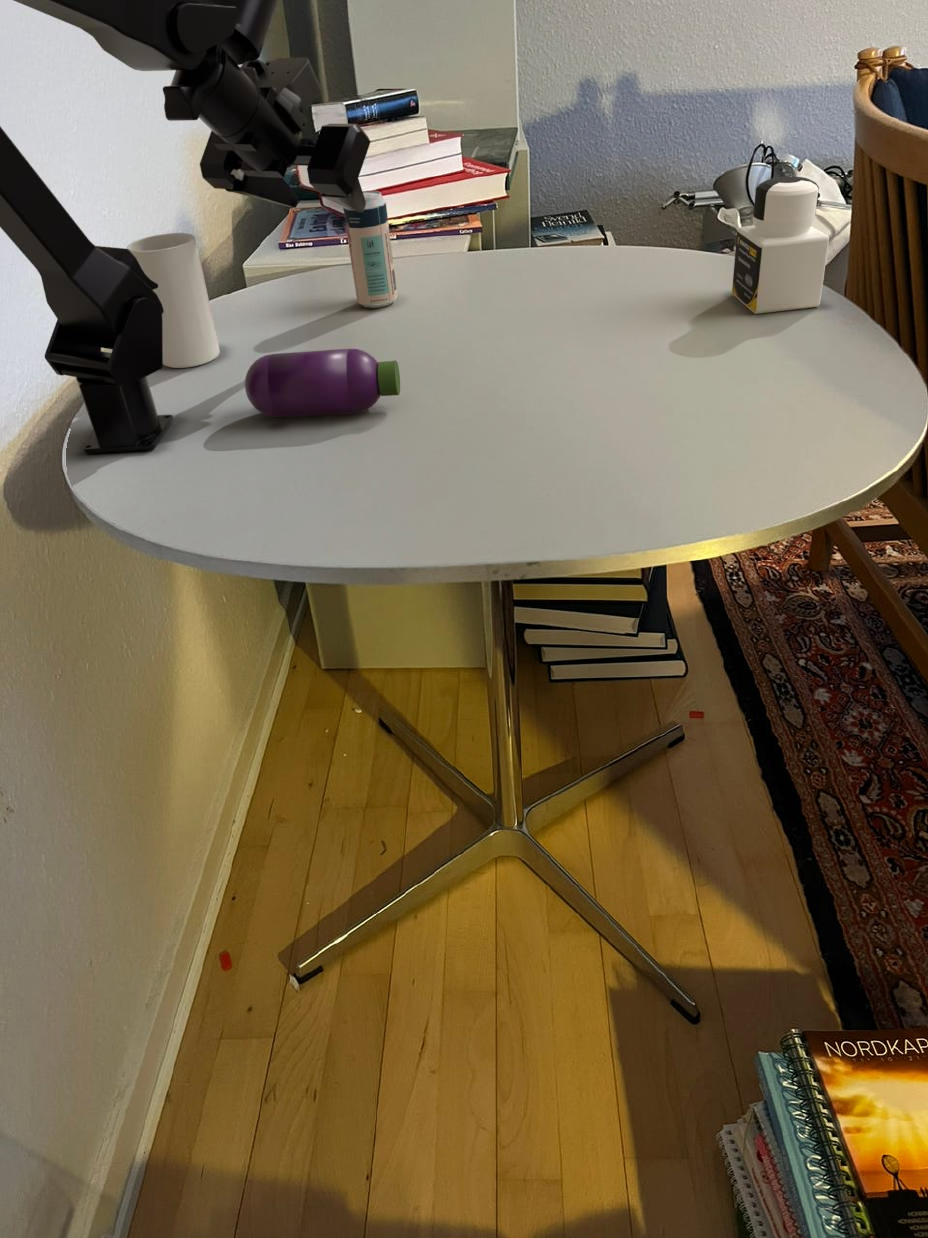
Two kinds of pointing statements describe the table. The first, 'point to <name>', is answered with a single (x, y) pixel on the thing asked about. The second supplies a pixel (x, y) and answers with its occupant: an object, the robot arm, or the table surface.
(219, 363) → the table surface
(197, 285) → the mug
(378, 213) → the pink upright cylinder
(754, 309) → the medicine bottle
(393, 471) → the table surface
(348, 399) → the eggplant
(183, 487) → the table surface
